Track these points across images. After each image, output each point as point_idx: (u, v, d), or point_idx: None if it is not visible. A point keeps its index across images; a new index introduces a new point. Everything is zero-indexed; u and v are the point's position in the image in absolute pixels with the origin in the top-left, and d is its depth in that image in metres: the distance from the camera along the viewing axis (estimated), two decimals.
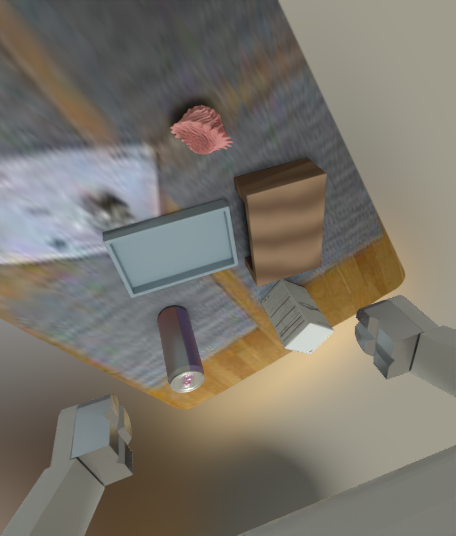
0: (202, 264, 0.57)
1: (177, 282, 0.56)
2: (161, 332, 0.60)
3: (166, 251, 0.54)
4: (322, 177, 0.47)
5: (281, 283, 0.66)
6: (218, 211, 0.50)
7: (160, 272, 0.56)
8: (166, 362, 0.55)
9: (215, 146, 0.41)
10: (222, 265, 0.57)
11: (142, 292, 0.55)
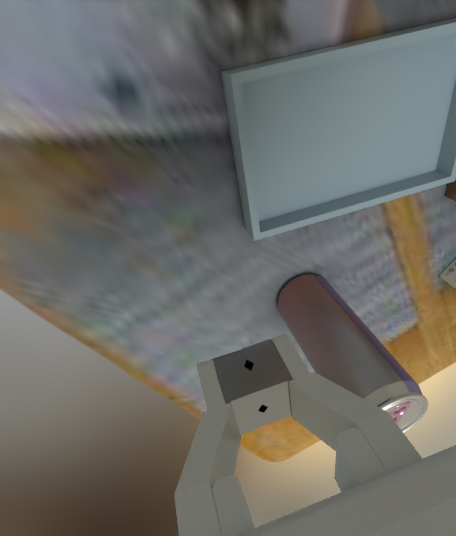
0: (384, 180, 0.29)
1: (343, 211, 0.28)
2: (298, 318, 0.31)
3: (333, 138, 0.26)
4: None
5: None
6: None
7: (309, 191, 0.28)
8: (334, 376, 0.25)
9: None
10: (426, 180, 0.29)
11: (276, 229, 0.27)
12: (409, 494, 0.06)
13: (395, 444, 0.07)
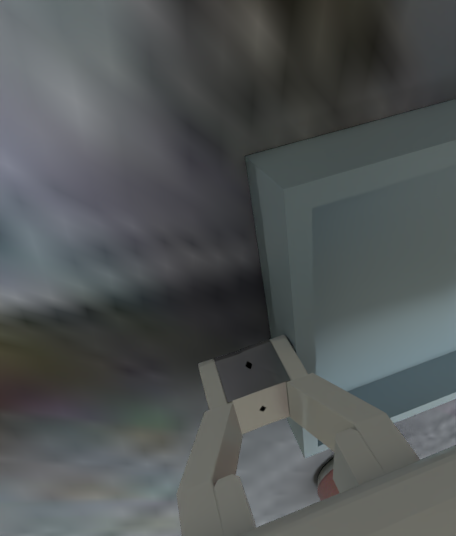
0: None
1: None
2: None
3: None
4: None
5: None
6: None
7: (406, 351, 0.14)
8: None
9: None
10: None
11: None
12: (409, 494, 0.06)
13: (393, 445, 0.07)
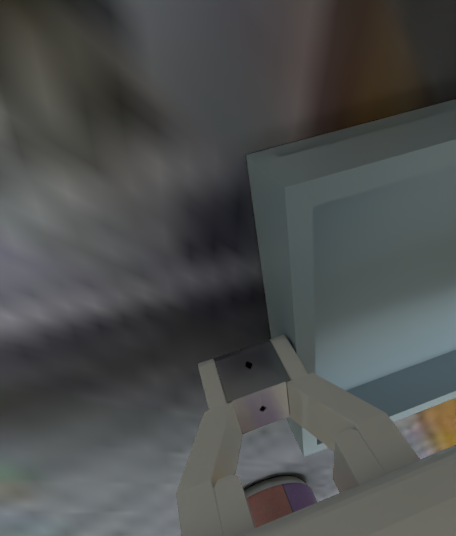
0: None
1: None
2: None
3: None
4: None
5: None
6: None
7: (405, 350, 0.15)
8: None
9: None
10: None
11: None
12: (409, 494, 0.06)
13: (393, 445, 0.07)
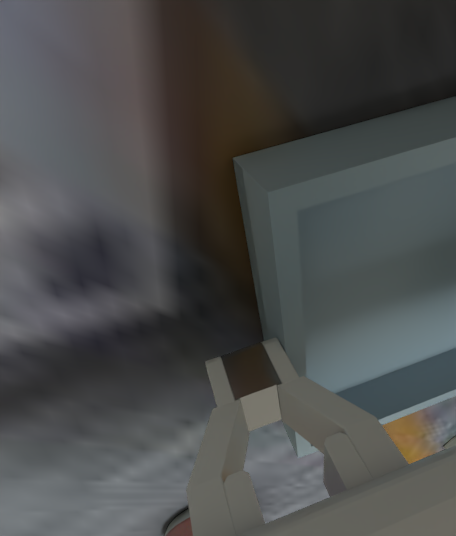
0: None
1: None
2: None
3: None
4: None
5: None
6: None
7: (400, 350, 0.14)
8: None
9: None
10: None
11: None
12: (409, 494, 0.06)
13: (382, 449, 0.07)
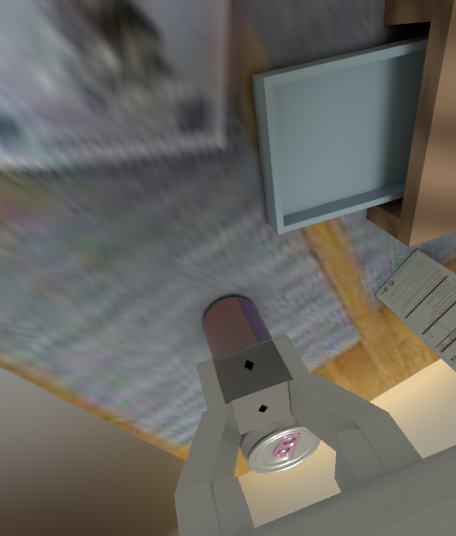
0: (399, 177, 0.31)
1: (362, 206, 0.29)
2: (214, 343, 0.31)
3: (353, 137, 0.27)
4: None
5: (420, 257, 0.37)
6: None
7: (329, 188, 0.29)
8: None
9: None
10: None
11: (299, 223, 0.29)
12: (409, 494, 0.06)
13: (395, 444, 0.07)
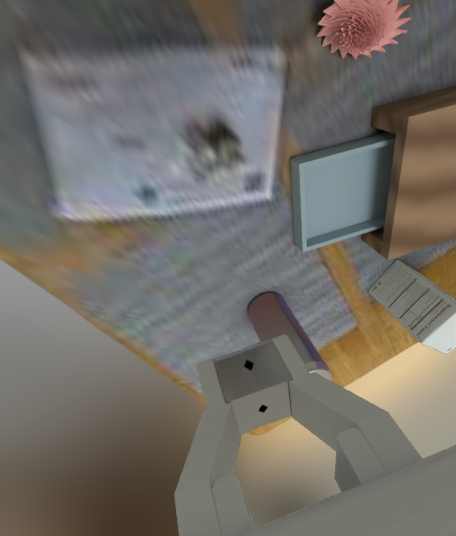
0: (383, 213, 0.46)
1: (357, 233, 0.45)
2: (259, 323, 0.46)
3: (351, 190, 0.43)
4: None
5: (399, 264, 0.52)
6: None
7: (335, 221, 0.45)
8: None
9: (382, 37, 0.30)
10: None
11: (316, 245, 0.44)
12: (409, 494, 0.06)
13: (395, 444, 0.07)
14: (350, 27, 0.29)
